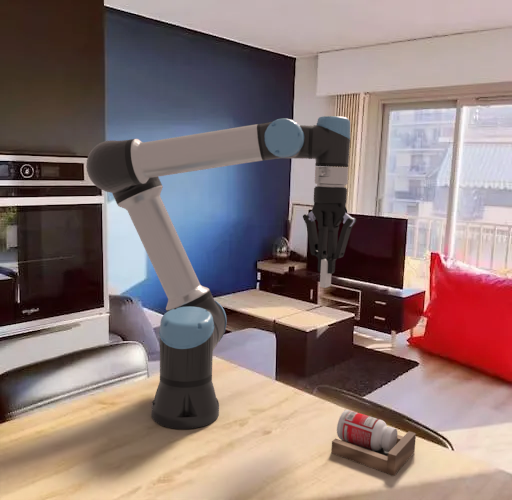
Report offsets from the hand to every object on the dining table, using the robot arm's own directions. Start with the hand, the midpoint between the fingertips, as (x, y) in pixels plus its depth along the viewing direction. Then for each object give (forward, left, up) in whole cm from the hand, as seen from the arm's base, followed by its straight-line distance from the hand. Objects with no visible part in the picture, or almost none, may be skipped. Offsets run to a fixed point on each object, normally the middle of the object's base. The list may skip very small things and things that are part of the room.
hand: (325, 286), depth 129 cm
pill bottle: (+13, -14, -25) cm, 31 cm away
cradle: (+20, -15, -28) cm, 38 cm away
